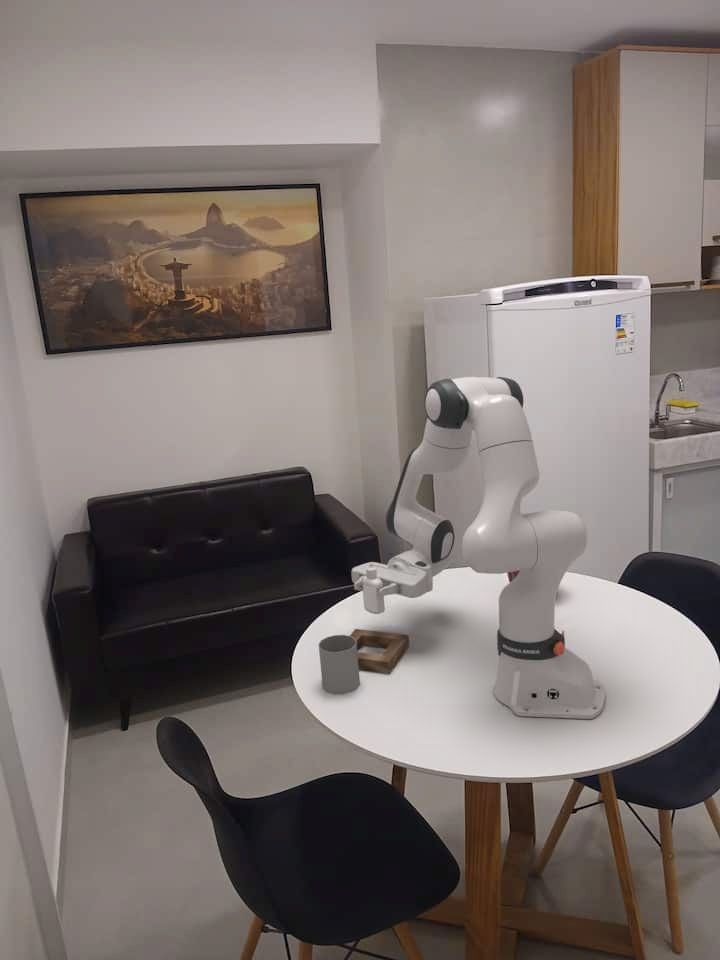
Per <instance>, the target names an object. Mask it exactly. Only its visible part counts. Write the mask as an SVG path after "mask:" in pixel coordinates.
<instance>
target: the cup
mask: <svg viewBox="0 0 720 960" xmlns="http://www.w3.org/2000/svg"><path fill="white" fill-rule="evenodd" d="M318 652H319V653H318V654H319V662H320V672H321V683H322V690H324V691H325V692H326V693H328V694H331V693H332V694H333V695H345V694H349V692H350V693H352V692H354V691H355V690H357V689H359V687H360V685H361V681H360V670H359V667H358V655H357V643H356V639H354V638H353V637H351V636H350V635H346V634H334V635H330V636H327V637H325V638H322V639H321V640H320V641H319V642H318Z"/></svg>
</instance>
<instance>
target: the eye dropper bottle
mask: <svg viewBox="0 0 720 960" xmlns="http://www.w3.org/2000/svg"><path fill="white" fill-rule="evenodd" d="M372 562H373V561H370V563H369V562H368V563H369V567H368V568H366V574H367V577H365V578H363V580H362V587H363V590H362V598H363V608H364V611H366V612H367V613H370V614H373V615H379V614H382V613H385V610H386V609H385V608H386V607H385V596H383V597H380V596H377V592H376V590H377V588H379V587H383V583H382V581H381V580H380V579H379V578H378V577H377V570H376V567H374V566H373V564H372Z"/></svg>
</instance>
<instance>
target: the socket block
mask: <svg viewBox="0 0 720 960" xmlns="http://www.w3.org/2000/svg"><path fill="white" fill-rule="evenodd" d="M349 636H351V637H353V638H354V639H356V643H357V655H358V667H359V671H364V672H371V673H380V674H386V675H390V674H391V673H392V672H393V670H394V669H395V667H396V666H397V664H398V663H399V662H400V660H401V658H402V657H403V656H404V654H405V653H406V652H407V650H408V649H409V647H410V639H409V638H410V637H409V634H404V633H396V632H395V633H394V632H385V631H378V630H368V629H367V630H366V629H359V628H358V629H357V628H355V629H354V630H353V631H352V632H351V633H350V634H349ZM366 646H369V647H368V648H374V647H375V648H376V649H382V648H384V651H383V653H382V654H377V653H376V654H375V653H371V652H370V653H368V652H361V651H360V650H361V649H362V648H363V647H366ZM375 648H374V649H375ZM359 649H360V650H359ZM358 650H359V651H360V652H359V651H358ZM405 651H406V652H405Z"/></svg>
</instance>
